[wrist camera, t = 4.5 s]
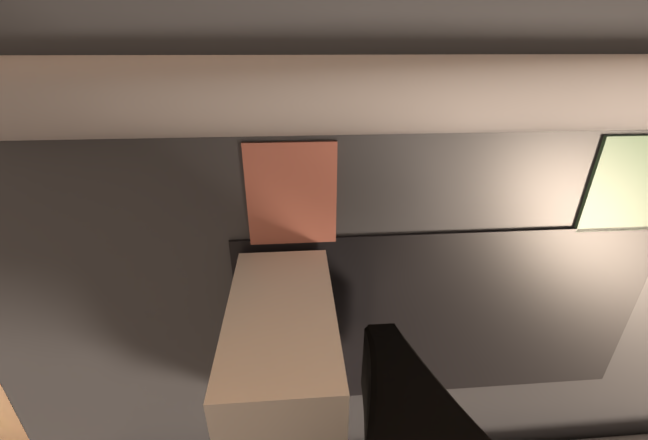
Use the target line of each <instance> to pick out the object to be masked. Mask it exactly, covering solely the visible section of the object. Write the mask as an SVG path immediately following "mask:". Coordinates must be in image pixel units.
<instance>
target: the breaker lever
mask: <svg viewBox="0 0 648 440" xmlns="http://www.w3.org/2000/svg"><path fill="white" fill-rule="evenodd" d="M349 399H350V394H349V388H348V382H347V376H346V370H345V364H344V358H343V352H342V346H341V340H340V334H339V328H338V322H337V316H336V309H335V303H334V297H333V291H332V285H331V279H330V273H329V267H328V261H327V255H326V250H311V251H286V252H260V253H239V255H238V259H237V263H236V268H235V272H234V276H233V280H232V285H231V289H230V293H229V297H228V302H227V306H226V310H225V314H224V319H223V323H222V327H221V331H220V336H219V340H218V344H217V348H216V353H215V357H214V361H213V365H212V370H211V374H210V378H209V382H208V387H207V391H206V395H205V400H204V404H203V407H204V412H205V417H206V422H207V427H208V432H209V437H210V440H348V422H349Z"/></svg>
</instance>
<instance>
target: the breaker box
mask: <svg viewBox="0 0 648 440" xmlns="http://www.w3.org/2000/svg"><path fill="white" fill-rule="evenodd" d="M430 54H648V0H0V55H430ZM311 250H326V255H327V261H328V267H329V273H330V279H331V285H332V291H333V297H334V303H335V309H336V316H337V322H338V328H339V334H340V340H341V346H342V352H343V358H344V364H345V370H346V376H347V382H348V388H349V394H350V399H349V422H348V440H364V410H363V397H362V388H361V373H362V357H363V342H364V328H366V327H367V325H369V324H389V323H395V325H396V327H397V328H398V329H399V331H400V332H401V333H402V335H403V336H404V338H405V339H406V340H407V342H408V343H409V344H410V346H411V347H412V348H413V349H414V351H415V352H416V353H417V355H418V356H419V357H420V358H421V360H422V361H423V362H424V364H425V365H426V366H427V367H428V369H429V370H430V371H431V372H432V373H433V375H434V376H435V377H436V378H437V380H438V381H439V382H440V383H441V384H442V385H443V387H444V388H445V389H446V390H447V391H448V392H449V393H450V395H451V396H452V397H453V398H454V399H455V400H456V402H457V403H458V404H459V405H460V406H461V407H462V408H463V409H464V411H465V412H466V413H467V414H468V415H469V416H470V417H471V418H472V419H473V420H474V422H475V423H476V424H477V425H478V426H479V427H480V428H481V429H482V430H483V431H484V432H485V433H486V434H487V435H488V436H489V437H490V438H491V439H492V440H575V439H588V438H601V437H613V436H626V435H639V434H648V130H600V131H542V132H484V133H427V134H369V135H311V136H253V137H196V138H138V139H80V140H22V141H0V384H1V386H2V388H3V389H4V391H5V393H6V395H7V397H8V399H9V401H10V403H11V405H12V407H13V409H14V411H15V413H16V414H17V416H18V418H19V420H20V422H21V424H22V426H23V428H24V430H25V432H26V434H27V436H28V438H29V440H210V437H209V432H208V427H207V422H206V417H205V412H204V407H203V404H204V400H205V395H206V391H207V387H208V382H209V378H210V374H211V370H212V365H213V361H214V357H215V353H216V348H217V344H218V340H219V336H220V331H221V327H222V323H223V319H224V314H225V310H226V306H227V302H228V297H229V293H230V289H231V285H232V280H233V276H234V272H235V268H236V263H237V259H238V255H239V253H260V252H286V251H311Z"/></svg>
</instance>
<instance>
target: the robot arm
mask: <svg viewBox="0 0 648 440" xmlns="http://www.w3.org/2000/svg"><path fill="white" fill-rule="evenodd" d="M361 388H362V397H363V410H364V440H492V439H491V438H490V437H489V436H488V435H487V434H486V433H485V432H484V431H483V430H482V429H481V428H480V427H479V426H478V425H477V424H476V423H475V422H474V420H473V419H472V418H471V417H470V416H469V415H468V414H467V413H466V412H465V411H464V409H463V408H462V407H461V406H460V405H459V404H458V403H457V402H456V400H455V399H454V398H453V397H452V396H451V395H450V393H449V392H448V391H447V390H446V389H445V388H444V387H443V385H442V384H441V383H440V382H439V381H438V380H437V378H436V377H435V376H434V375H433V373H432V372H431V371H430V370H429V369H428V367H427V366H426V365H425V364H424V362H423V361H422V360H421V358H420V357H419V356H418V355H417V353H416V352H415V351H414V349H413V348H412V347H411V346H410V344H409V343H408V342H407V340H406V339H405V338H404V336H403V335H402V333H401V332H400V331H399V329H398V328H397V327H396V325H395V323H389V324H369V325H367V327H366V328H364V342H363V357H362V373H361Z"/></svg>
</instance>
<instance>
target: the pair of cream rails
mask: <svg viewBox="0 0 648 440" xmlns="http://www.w3.org/2000/svg"><path fill="white" fill-rule="evenodd" d="M600 130H648V54H430V55H0V141H22V140H80V139H138V138H196V137H253V136H311V135H369V134H427V133H484V132H542V131H600ZM575 440H648V434H639V435H626V436H613V437H601V438H588V439H575Z"/></svg>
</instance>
